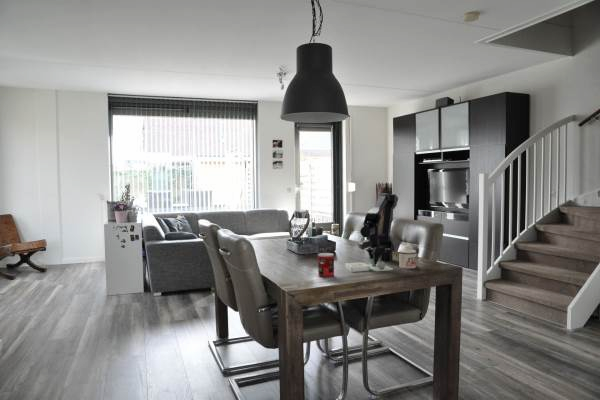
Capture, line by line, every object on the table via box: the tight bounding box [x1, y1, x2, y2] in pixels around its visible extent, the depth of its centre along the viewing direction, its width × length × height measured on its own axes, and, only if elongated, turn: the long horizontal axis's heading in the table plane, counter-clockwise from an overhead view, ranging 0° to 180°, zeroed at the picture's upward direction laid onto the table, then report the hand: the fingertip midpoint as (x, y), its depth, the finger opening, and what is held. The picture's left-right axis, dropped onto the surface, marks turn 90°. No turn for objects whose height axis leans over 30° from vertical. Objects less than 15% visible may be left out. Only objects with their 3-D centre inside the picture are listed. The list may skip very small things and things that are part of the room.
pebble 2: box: [377, 260, 386, 269], centre depth 227 cm, size 4×4×4 cm
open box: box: [344, 261, 371, 273], centre depth 228 cm, size 10×10×3 cm
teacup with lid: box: [398, 245, 419, 269], centre depth 231 cm, size 12×9×12 cm
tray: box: [364, 261, 394, 272], centre depth 232 cm, size 10×18×1 cm, turn 14°
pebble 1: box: [369, 258, 376, 266], centre depth 236 cm, size 4×4×4 cm
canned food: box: [317, 252, 335, 278], centre depth 217 cm, size 8×8×11 cm
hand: (373, 263), depth 236 cm, fingers open, 4 cm apart
